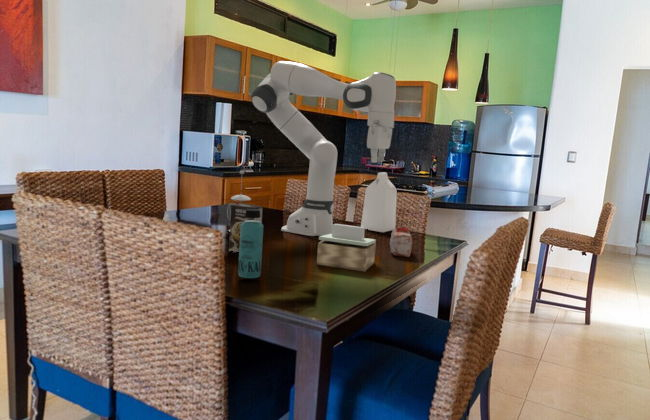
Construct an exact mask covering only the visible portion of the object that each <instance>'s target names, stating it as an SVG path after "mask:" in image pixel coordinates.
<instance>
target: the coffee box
mask: <svg viewBox="0 0 650 420" xmlns="http://www.w3.org/2000/svg"><path fill="white" fill-rule="evenodd" d="M263 208H264V207H263V206H262V205H255V204H247V203H242V202H241V203H240V202H239V203H236V204H234V203H233V204H232V203H231V204H230V210H231V218H230V217H229V219H230V220H229V229H230V233H229V241H228V242H229V243H228V246H229V247H228V252H230V251H233V252H232V253H236V252H239V246H240V245H239V244H240V231H241V224H242V223H243V222H244V221H247V220H253V221H259V222H260V223H261V224H262V225H263V221H262V220H263V210H264V209H263ZM246 209H258V210H260V218H248V217H245V213H246Z"/></svg>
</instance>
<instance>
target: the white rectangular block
mask: <svg viewBox="0 0 650 420" xmlns="http://www.w3.org/2000/svg"><path fill="white" fill-rule="evenodd" d="M365 230H366V229H365V227H361V226H357V225H356V226H355V225H349V224H341V223H334V224H333V229H332V237H339V238H346V239H354V240H364V238H365V232H366V231H365Z"/></svg>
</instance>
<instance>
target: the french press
mask: <svg viewBox="0 0 650 420" xmlns="http://www.w3.org/2000/svg"><path fill="white" fill-rule="evenodd" d="M239 174H240V175H241V178H240V179H241V180H240V182H241V183H240V189H242V183H243V175H244V174H245V171H244V170H240V171H239ZM230 200H231V201H236V202H237V201H238V202H239V203H241V204H242V202H247V201H251V200H252V198H251V197H249V196H247V195H244V194H242V193H240V194H236V195H233V196H231V197H230ZM236 202H234V203H233V202H231V203H229V204H228V206H227V210H226V214H227V215H226V216H227V218H228V220H229V221H230V218H231V209H230V210H229V207H231V205H232V204H237V203H236ZM228 211H229V212H228ZM228 213H230V214H229V215H228ZM229 216H230V217H229ZM227 231H229V232H230V228H229V229H228V230H227Z"/></svg>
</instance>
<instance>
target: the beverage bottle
mask: <svg viewBox="0 0 650 420" xmlns="http://www.w3.org/2000/svg"><path fill="white" fill-rule="evenodd" d="M245 217H248V218H260V210H258V209H246V213H245ZM263 237H264V224H263V223H262V224H261V223H260V222H259V221H253V220H247V221H244V222H243V223H242V224H241V231H240V244H239V245H240V246H239V253H238V254H237V255H238V260H237V261H238V262H237V273H238V277H240V278H243V279H256V278H259V277H261V274H262V268H263V267H262V262H263V259H262V258H263V242H264V241H263V240H264V239H263Z"/></svg>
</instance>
